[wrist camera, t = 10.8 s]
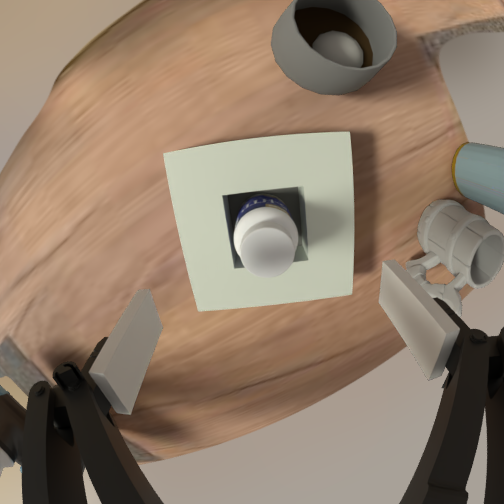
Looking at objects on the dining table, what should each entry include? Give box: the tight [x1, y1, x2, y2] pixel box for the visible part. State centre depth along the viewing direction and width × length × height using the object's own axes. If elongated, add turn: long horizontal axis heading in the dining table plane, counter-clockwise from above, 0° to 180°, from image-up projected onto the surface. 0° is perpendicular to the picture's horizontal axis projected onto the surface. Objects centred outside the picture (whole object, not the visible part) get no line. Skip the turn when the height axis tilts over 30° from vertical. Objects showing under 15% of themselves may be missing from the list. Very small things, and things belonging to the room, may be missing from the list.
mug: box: [406, 199, 504, 317], centre depth 23 cm, size 8×12×12 cm, turn 134°
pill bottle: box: [234, 194, 298, 278], centre depth 24 cm, size 5×5×9 cm
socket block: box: [163, 132, 354, 311], centre depth 26 cm, size 16×16×4 cm
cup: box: [271, 0, 397, 95], centre depth 17 cm, size 10×9×10 cm
